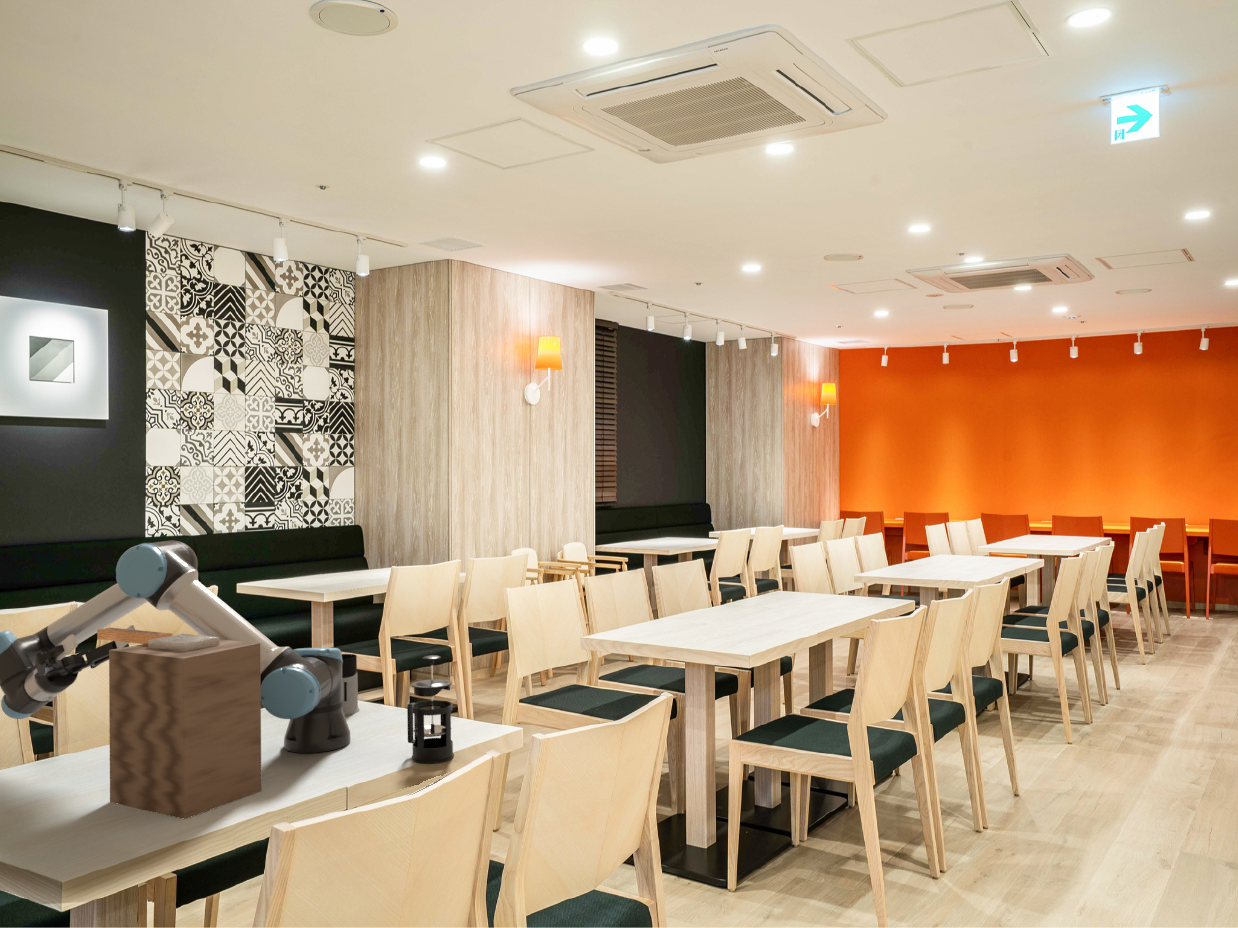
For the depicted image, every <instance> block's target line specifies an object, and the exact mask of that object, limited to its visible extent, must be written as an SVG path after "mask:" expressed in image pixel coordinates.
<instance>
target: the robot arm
mask: <svg viewBox="0 0 1238 928" xmlns="http://www.w3.org/2000/svg"><path fill="white" fill-rule="evenodd" d="M198 563H199V562H198V557H197V555H196V553H195V551H194V549H193V548H191V547H190V546H189V545H188V544H186V543H184V542H182V541H179V540H173V539H172V540H163V541H157V542H142V543H139V544H137V545H134V546H132V547H130V548H128V549H127V550H126V551H125V552H123V554H122V555H121V556H120V557H119V559H118V561H117V564H116V568H115V575H116V576H115V579H116V583H115V584H113V585H111V586H110V587H109V588H107V589H105V590H104V591H102V592H101V593H98V594H96V595H95V596H94V597H93V598H90V599H89V600H88V601H86V602H84V603H83V604H81V605H79V606H77V607H76V608H75V609H73V610H72V611H69V612H68V613H66V614H64V615H63V616H62V617H60V618H58V619H57V620H55V621H53V622H52V623H50V624H49V625H47V626H45V627H43V628H42V629H41V630H38V631H37V632H35V633H34V634H30V635H26V636H23V637H20V638H18V637H17V636H16V635H15V634H14V633H13V631H10V630H2V631H1V632H0V689H1V691H2V692H3V694H4V695H3V696H2V699H1V700H0V705H1V710H2V712H3V713H4V714H5V715H6V716H7V717H9V718H12V719H14V720H24V719H26V718H27V719H28V718H29V717H31V716H32V715H34V714H35V713H37V712H39V711H41V709H42V708H43V707H44V706H46V705H47V704H48V703H49V702H53V701H54V698H56V697H57V696H58V695H60V694H61V693H62V692H63V691H65V690H66V689H68V687H70V686H71V685H73V684H74V682H76V680H77V678H78V675H79V672H82V671H83V670H84V669H87V668H90V669H95V668H96V667H98V666H100V665H101V664H103V663H105V662H107V661H109V650H112V649H118V648H124V647H129V646H130V643H129V642H120V641H109V642H106V643H104V644H103V645H101V646H97V647H95V648H93V649H91V650H87V649H85V650H83V651H80V652H78V653H74V654H73V653H72V651H74V650H75V649H76V648H77V647H78V645H79V644H81V643H82V642H84V641H85V640H88V639H89V638H90V637H92V636H94V635H95V634H97V630H98V629H105V628H108V626H111V625H112V624H114V623H115V622H117V621H118V620H120V619H122V618H124V617H125V616H126V615H129V614H130V613H131V612H133V611H135V610H136V609H138V608H140V607H142V606H144V605H145V604H146V603H149V604H150V605H152V606H153V607H154V608H155V609H157V611H171V612H172V613H173V614H174V615H175V616H176V617H178V618H179V619H180V620H181V621H183V622H184V623H185V624H186V625H188V626H189V627H190V628H191V629H192V630H193V631H194V632H196V633H197V635H202V636H212V637H219V639H222V640H232V641H242V642H253V643H260V675H261V705H262V706H263V708H264V709H265V710H266V711H267V712H268V713H269V714H270V715H272V716H274V717H275V718H278V719H283V720H289V722H288V725H287V728H286V731H285V734H284V738H283V748H284V750H286V751H287V752H292V753H298V754H299V753H301V754H310V753H311V754H313V753H323V752H329V751H334V750H339V749H341V748H344V747H346V746H347V745H349V744H350V743H351V730H350V728H349V724H348V722H347V719H346V715H344V713H343V708H342V664H343V660H342V654H343V653H342V650H341V649H340V648H338V647H304V648H303V647H302V648H295V649H292V647H290V646H278V645H277V644H275V643H274V642H273V641H271V640H270V639H269V638H268V637H267V636H266V635H265V634H263V633H262V632H261V631H260V630H258V629H257V628H256V627H255V626H254V625H252V624H251V623H250V622H249V621H248V620H246V619H245V618H244V617H243V616H242V615H240V614H239V613H238V612H237V611H235V609H233V608H232V607H231V606H230V605H228V604H227V603H226V602H225V601H223V600H222V599H221V598H220V597H218V596H217V595H216V594H215V593H214V592H212V591H211V589H209V587H206V586H205V585H204V584H202V582H201V581H199V571H198V565H199V564H198ZM126 629H130V630H136V628H135V626H134V625H133V624H132V625H129V626H128V627H127V628H126ZM70 653H72V654H70ZM68 654H70V655H68ZM67 655H68V656H67ZM84 655H85V658H86V659H85V658H84Z"/></svg>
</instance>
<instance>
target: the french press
mask: <svg viewBox="0 0 1238 928" xmlns="http://www.w3.org/2000/svg"><path fill="white" fill-rule="evenodd" d="M441 658H442V656H440V655H436V654H435V655H434V654H431V655H425V656H423V657H422V660H424V661H425V660H427V661H429V666H430V674H431V675H430V679H424V680H423V679H421V680H418V681H415V682H412V684H411V687H412V688H413V695H414V696H417V697H423V698H425V697H426V698H428V697H429V698H430V697H431V698H430V699H431V700H423V701H418V702H411V703H408V704H407V706H406V707H407V711H406V712H407V716H406V717H407V743H409V744H412V756H411V761H412V762H414V763H415V764H420V765H421V764H422V765H424V764H426V765H434V764H441V763H446V762H448V761H451V760H453V759H454V757H455V754H454V741H453V740H452V727H451V725H452V721H451V720H452V716H451V715H452V711H453V702H451V701H448V700H440V699H435V700H434V697H435V696H436V695H438V694H439V693H440V692H441V691H443V690H446V691H451V686H452V685H453V681H452V680H451V679H450V680H449V679H441V678H440V679H439V678H434V676H433V674H434V667H433V666H434V665H435V661H436V660H441ZM426 707H427V709H425V708H426ZM428 707H431V709H429V708H428ZM434 707H439V708H434ZM439 715H440V724H434V716H439ZM425 716H431V724H430V725H429V724H427V725H425Z"/></svg>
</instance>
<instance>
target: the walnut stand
mask: <svg viewBox="0 0 1238 928" xmlns="http://www.w3.org/2000/svg"><path fill="white" fill-rule="evenodd" d="M108 664H109V666H108V672H109V673H108V676H109V677H108V679H109V681H108V685H109V692H108V693H109V696H108V697H109V700H108V701H109V702H108V703H109V704H108V705H109V706H108V707H109V708H108V709H109V711H108V713H109V715H108V716H109V719H108V720H109V802H110V803H112V802H113V804H116V803H118V804H117V805H121V804H122V805H121V806H125V805H126V807H129V806H130V807H131V808H133V809H134V808H135V809H139V810H144V811H147V812H151V811H152V813H156V812H157V813H156V814H160V813H161V815H164V814H166V815H165V816H169V815H170V817H173V816H174V818H177V817H179V818H178V819H182V818H184V819H183V820H186V818H187V819H189V818H192V817H195V816H197V815H200V814H202V812H203V813H205V812H208V811H210V809H211V810H213V808H214V809H216V808H218V806H219V807H221V805H222V806H224V805H227V804H229V802H230V803H232V802H235V801H237V799H238V800H240V799H243V798H245V796H246V797H247V796H248V797H249V796H251V795H253V794H256V793H259V792H262V702H261V675H260V643H253V642H242V641H232V640H222V639H219V645H218V646H212V647H207V648H202V649H197V650H192V651H187V652H183V651H174V650H164V649H155V648H148V644H136V645H135V644H134V645H129V647H124V648H118V649H112V650H109V660H108ZM242 797H243V798H242ZM234 800H235V801H234ZM226 803H227V804H226ZM194 815H195V816H194ZM191 816H192V817H191ZM188 817H189V818H188Z"/></svg>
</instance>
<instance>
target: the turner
mask: <svg viewBox="0 0 1238 928" xmlns="http://www.w3.org/2000/svg"><path fill="white" fill-rule="evenodd" d="M96 635H97V636H96V637H97V640H102V641H103V640H104V641H110V642H112V641H120V642H129V643H128V644H130V643H131V644H138V645H141V644H148V648H155V649H164V650H174V651H183V652H187V651H192V650H197V649H202V648H207V647H212V646H218V645H219V637H212V636H202V635H199V634H191V633H190V634H189V633H180V634H174V635H173V633H170V632H162V631H161V632H158V631H149V630H139V629H138V630H137V629H135V630H130V629H127V628H119V627H105V628H104V629H98V630H97V633H96Z"/></svg>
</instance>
